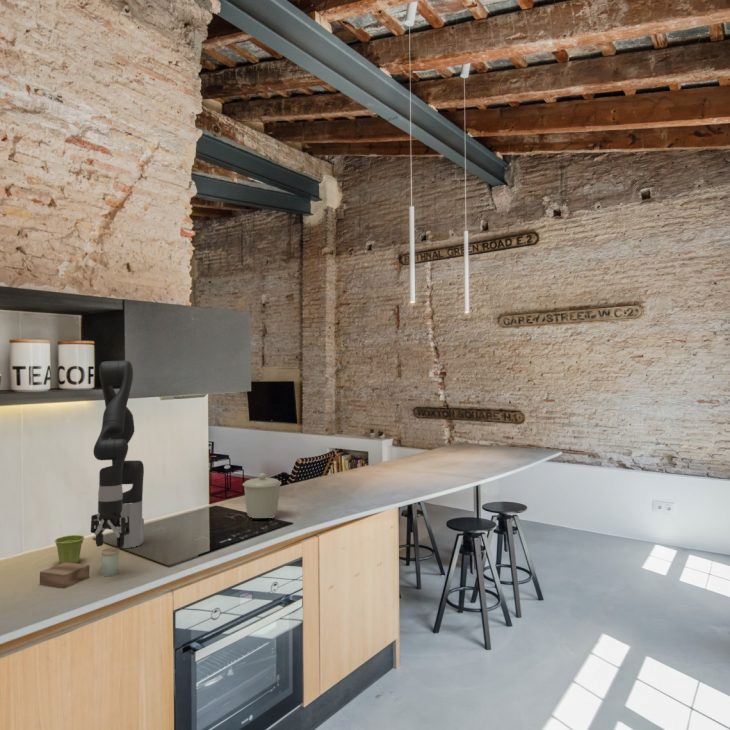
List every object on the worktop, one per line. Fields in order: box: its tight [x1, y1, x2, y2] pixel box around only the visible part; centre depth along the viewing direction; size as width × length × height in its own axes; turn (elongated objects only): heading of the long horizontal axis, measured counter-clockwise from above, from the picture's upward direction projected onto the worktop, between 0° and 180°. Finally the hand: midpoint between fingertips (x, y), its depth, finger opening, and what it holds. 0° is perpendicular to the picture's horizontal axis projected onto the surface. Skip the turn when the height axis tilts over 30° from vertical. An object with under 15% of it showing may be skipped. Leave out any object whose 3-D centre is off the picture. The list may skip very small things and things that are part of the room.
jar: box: [101, 547, 120, 577], centre depth 185 cm, size 5×5×8 cm
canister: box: [242, 472, 282, 518], centre depth 259 cm, size 18×18×21 cm
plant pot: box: [54, 534, 85, 565], centre depth 196 cm, size 9×9×9 cm
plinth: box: [39, 562, 90, 589], centre depth 178 cm, size 10×10×4 cm
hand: (109, 546), depth 185 cm, fingers open, 8 cm apart
